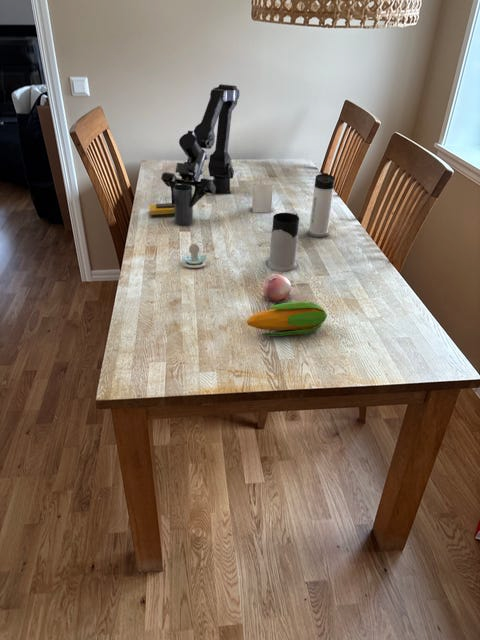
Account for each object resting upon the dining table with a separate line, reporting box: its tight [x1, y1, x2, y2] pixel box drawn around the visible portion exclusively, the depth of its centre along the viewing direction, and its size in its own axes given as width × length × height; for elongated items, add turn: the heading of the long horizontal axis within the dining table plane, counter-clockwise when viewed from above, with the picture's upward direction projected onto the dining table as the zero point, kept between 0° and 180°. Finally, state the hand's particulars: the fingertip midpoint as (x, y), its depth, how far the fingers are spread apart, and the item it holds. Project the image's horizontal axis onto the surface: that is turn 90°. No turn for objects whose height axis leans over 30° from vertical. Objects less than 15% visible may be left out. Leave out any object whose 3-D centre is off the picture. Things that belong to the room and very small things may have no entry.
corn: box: [246, 301, 328, 337], centre depth 119 cm, size 7×8×20 cm
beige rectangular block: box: [251, 183, 273, 213], centre depth 182 cm, size 4×7×10 cm, turn 93°
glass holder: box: [267, 211, 300, 272], centre depth 148 cm, size 9×14×15 cm, turn 155°
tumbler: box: [173, 184, 194, 227], centre depth 170 cm, size 6×6×12 cm
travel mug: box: [308, 172, 336, 238], centre depth 163 cm, size 6×7×20 cm
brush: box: [149, 202, 174, 218], centre depth 178 cm, size 12×6×4 cm, turn 103°
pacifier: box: [181, 243, 207, 269], centre depth 146 cm, size 7×6×6 cm
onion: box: [262, 273, 292, 304], centre depth 132 cm, size 8×8×7 cm
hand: (181, 205), depth 169 cm, fingers closed on tumbler, 6 cm apart
